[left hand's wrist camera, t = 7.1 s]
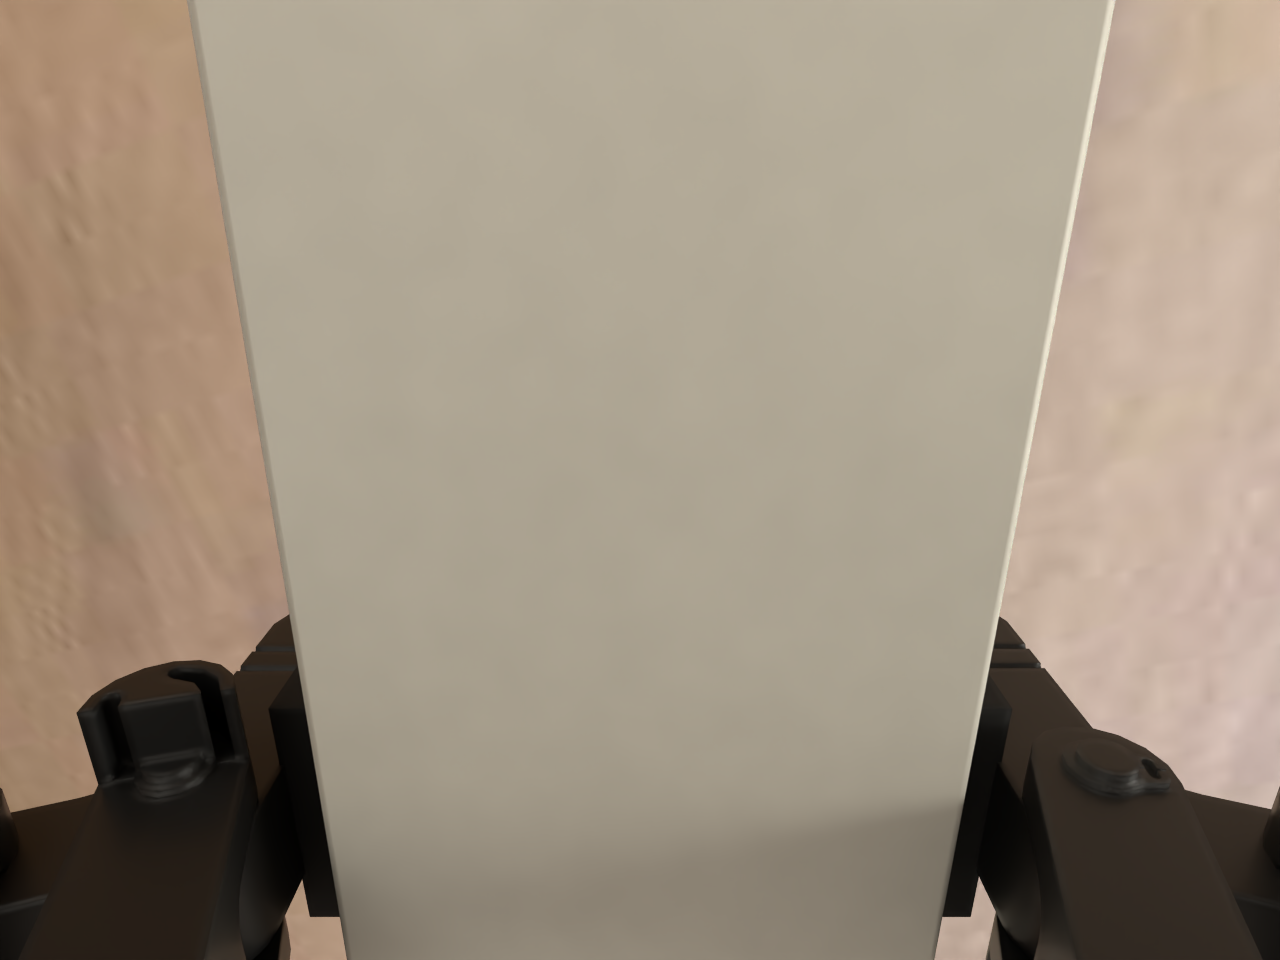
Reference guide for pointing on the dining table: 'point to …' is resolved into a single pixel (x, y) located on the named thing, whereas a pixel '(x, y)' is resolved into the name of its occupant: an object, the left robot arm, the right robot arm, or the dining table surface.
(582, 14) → the bar
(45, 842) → the left robot arm
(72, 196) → the dining table surface
